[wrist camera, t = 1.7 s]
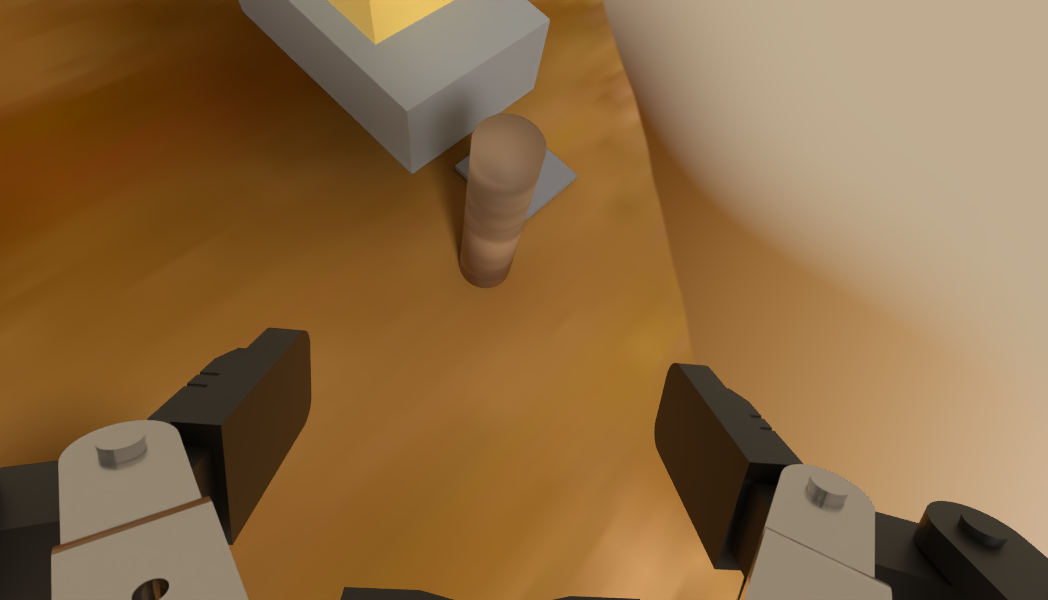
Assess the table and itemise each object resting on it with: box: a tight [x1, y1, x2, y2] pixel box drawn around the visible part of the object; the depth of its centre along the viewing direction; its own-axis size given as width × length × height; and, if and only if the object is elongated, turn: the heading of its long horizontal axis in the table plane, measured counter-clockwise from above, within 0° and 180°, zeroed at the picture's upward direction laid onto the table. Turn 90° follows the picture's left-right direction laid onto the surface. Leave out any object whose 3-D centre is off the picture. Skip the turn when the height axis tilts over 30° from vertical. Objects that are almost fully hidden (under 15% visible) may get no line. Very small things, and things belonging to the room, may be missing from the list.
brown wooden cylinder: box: [460, 114, 546, 288], centre depth 27 cm, size 3×3×12 cm
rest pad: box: [455, 148, 577, 221], centre depth 35 cm, size 6×6×1 cm
